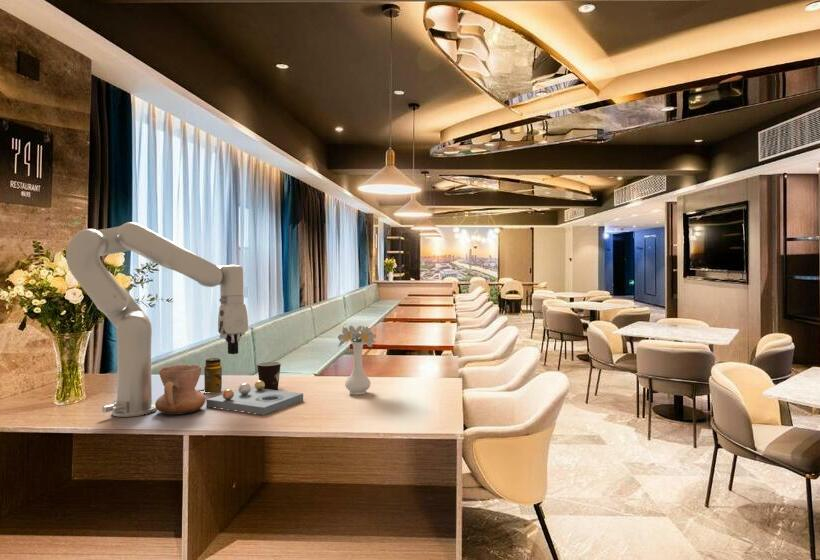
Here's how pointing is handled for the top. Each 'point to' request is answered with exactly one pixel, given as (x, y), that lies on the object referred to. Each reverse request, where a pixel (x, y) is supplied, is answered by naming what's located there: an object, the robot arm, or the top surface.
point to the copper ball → (228, 394)
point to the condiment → (212, 375)
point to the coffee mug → (269, 374)
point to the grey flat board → (257, 401)
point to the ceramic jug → (180, 389)
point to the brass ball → (259, 385)
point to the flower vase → (357, 357)
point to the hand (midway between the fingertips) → (233, 353)
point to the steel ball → (244, 389)
